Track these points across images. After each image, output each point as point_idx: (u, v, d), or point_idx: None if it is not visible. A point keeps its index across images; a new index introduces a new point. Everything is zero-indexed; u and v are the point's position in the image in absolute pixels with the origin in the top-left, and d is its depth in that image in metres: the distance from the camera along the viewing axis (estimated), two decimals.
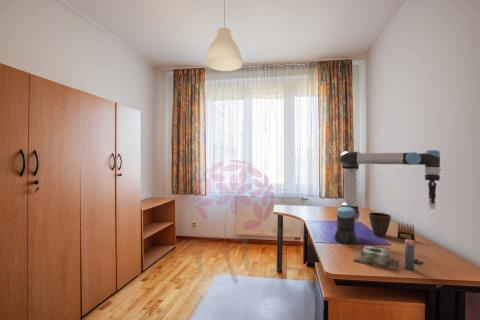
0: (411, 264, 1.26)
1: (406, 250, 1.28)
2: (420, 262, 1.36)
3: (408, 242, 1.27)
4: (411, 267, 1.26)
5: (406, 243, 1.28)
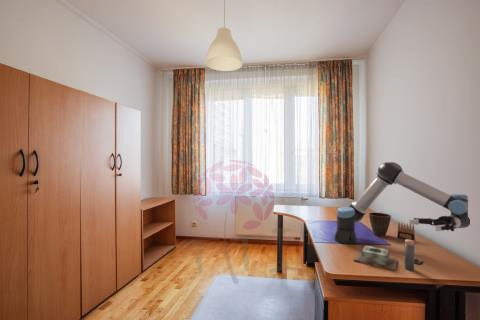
0: (411, 264, 1.26)
1: (406, 250, 1.28)
2: (420, 262, 1.36)
3: (408, 242, 1.27)
4: (411, 267, 1.26)
5: (406, 243, 1.28)
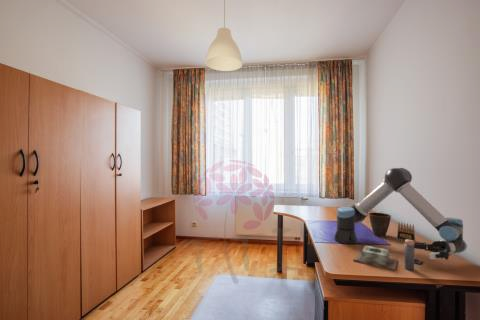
0: (411, 264, 1.26)
1: (406, 250, 1.28)
2: (420, 262, 1.36)
3: (408, 242, 1.27)
4: (411, 267, 1.26)
5: (406, 243, 1.28)
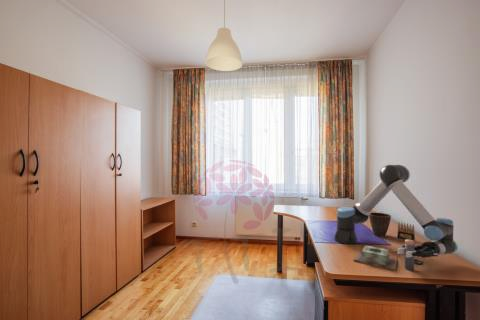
0: (411, 264, 1.26)
1: (406, 250, 1.28)
2: (420, 262, 1.36)
3: (408, 242, 1.27)
4: (411, 267, 1.26)
5: (406, 243, 1.28)
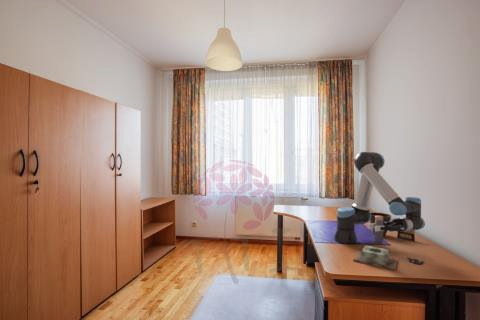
0: (380, 238, 1.35)
1: (375, 225, 1.37)
2: (420, 262, 1.36)
3: (377, 217, 1.36)
4: (380, 241, 1.35)
5: (376, 218, 1.37)
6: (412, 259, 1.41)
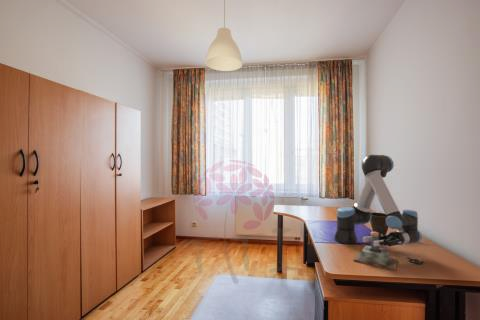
0: None
1: (371, 241, 1.38)
2: (420, 262, 1.36)
3: (373, 234, 1.38)
4: None
5: (371, 235, 1.39)
6: (412, 259, 1.40)
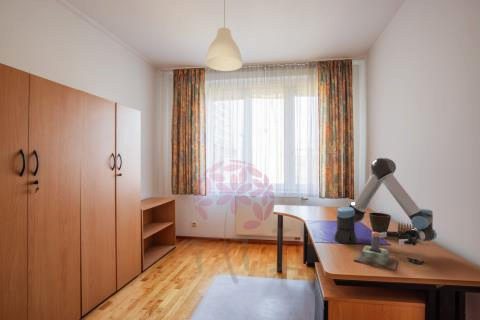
0: None
1: (372, 241, 1.38)
2: (420, 262, 1.36)
3: (374, 234, 1.37)
4: None
5: (372, 235, 1.38)
6: (412, 259, 1.40)
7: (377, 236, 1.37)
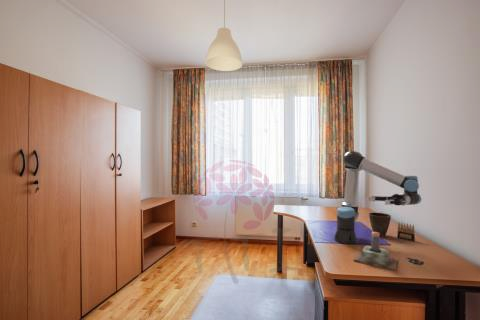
0: None
1: (372, 241, 1.38)
2: (420, 262, 1.36)
3: (374, 234, 1.37)
4: None
5: (372, 235, 1.38)
6: (412, 259, 1.40)
7: (377, 236, 1.37)
